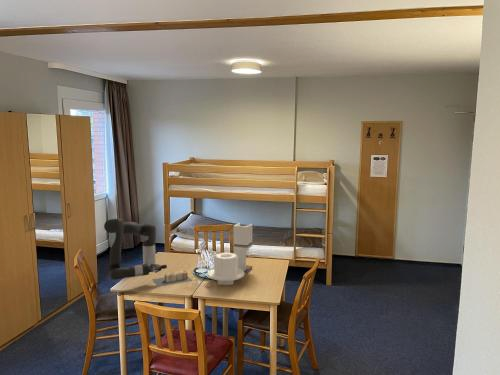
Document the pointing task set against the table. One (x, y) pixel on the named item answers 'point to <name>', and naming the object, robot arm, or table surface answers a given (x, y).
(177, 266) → the table surface
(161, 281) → the rubber mat
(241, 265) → the grey notched tower
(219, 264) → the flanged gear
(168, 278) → the birch block
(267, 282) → the table surface
